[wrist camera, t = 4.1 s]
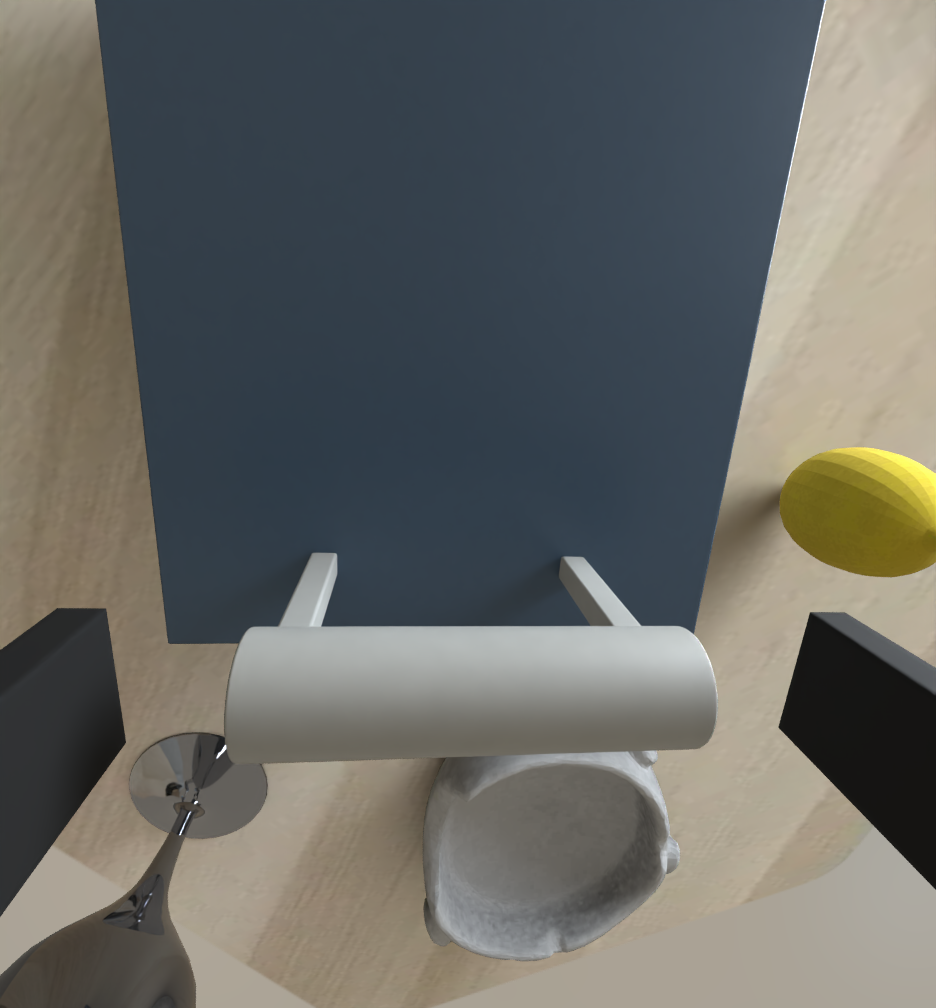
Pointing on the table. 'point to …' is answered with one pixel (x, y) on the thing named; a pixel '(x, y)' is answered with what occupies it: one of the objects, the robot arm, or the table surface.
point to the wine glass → (143, 890)
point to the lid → (448, 351)
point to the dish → (542, 850)
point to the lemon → (863, 511)
